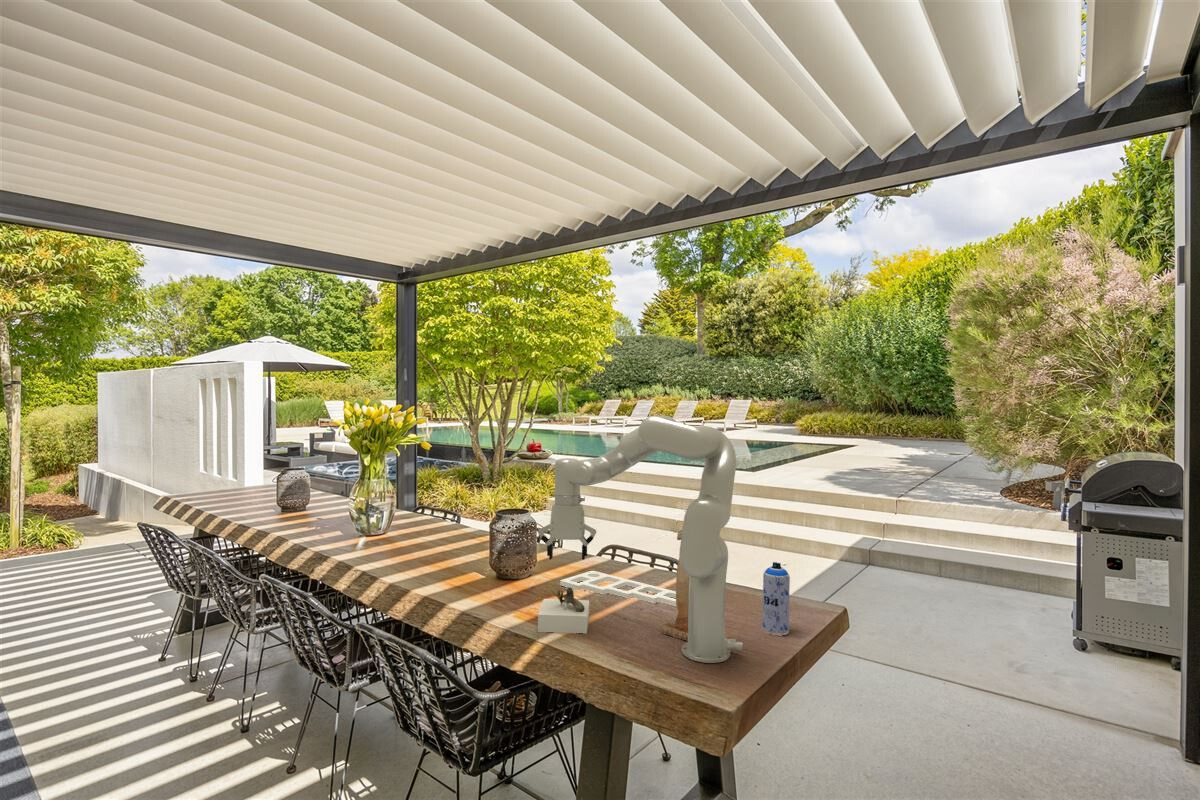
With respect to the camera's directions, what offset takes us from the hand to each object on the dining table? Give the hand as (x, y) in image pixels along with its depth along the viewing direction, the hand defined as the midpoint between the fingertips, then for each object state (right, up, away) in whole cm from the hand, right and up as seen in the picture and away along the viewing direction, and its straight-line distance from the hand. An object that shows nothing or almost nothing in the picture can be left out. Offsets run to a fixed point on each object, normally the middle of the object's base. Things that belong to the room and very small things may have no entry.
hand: (567, 558), depth 179 cm
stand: (-1, -19, 0) cm, 19 cm away
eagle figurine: (+1, -15, -1) cm, 15 cm away
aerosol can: (+61, -21, -2) cm, 65 cm away
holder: (+18, -21, +29) cm, 40 cm away
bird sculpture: (+35, -21, -5) cm, 41 cm away
